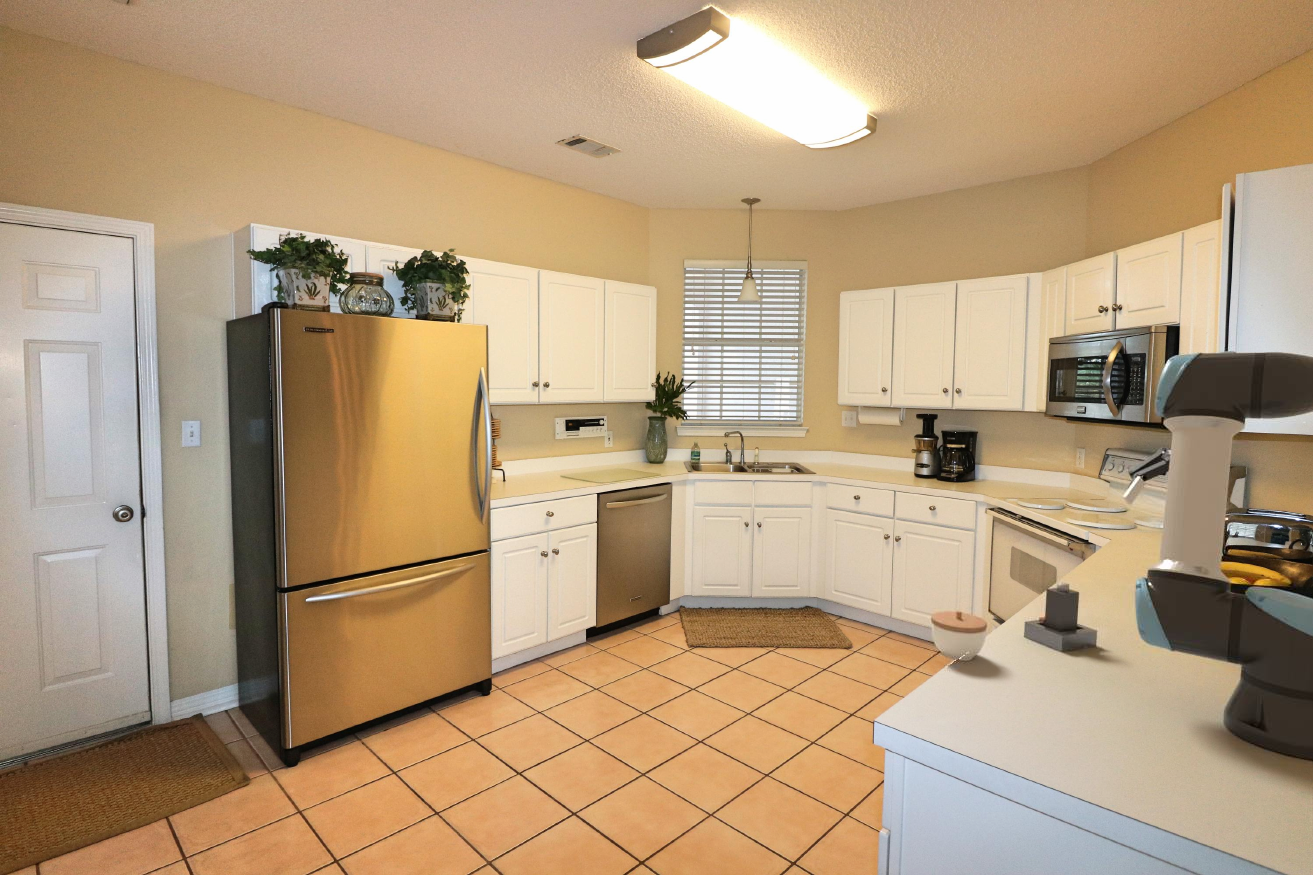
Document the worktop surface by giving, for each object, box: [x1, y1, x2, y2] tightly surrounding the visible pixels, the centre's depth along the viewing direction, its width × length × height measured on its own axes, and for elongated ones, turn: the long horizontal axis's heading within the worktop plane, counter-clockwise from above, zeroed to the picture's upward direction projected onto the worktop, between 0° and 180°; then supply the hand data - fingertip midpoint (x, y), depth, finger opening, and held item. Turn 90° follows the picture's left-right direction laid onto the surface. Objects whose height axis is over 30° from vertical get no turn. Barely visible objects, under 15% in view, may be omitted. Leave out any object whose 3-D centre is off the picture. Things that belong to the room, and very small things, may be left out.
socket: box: [1023, 616, 1098, 652], centre depth 154 cm, size 10×10×4 cm
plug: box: [1044, 582, 1080, 632], centre depth 154 cm, size 4×5×12 cm
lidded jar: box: [930, 610, 988, 662], centre depth 145 cm, size 11×11×9 cm
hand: (1157, 505), depth 154 cm, fingers open, 13 cm apart
